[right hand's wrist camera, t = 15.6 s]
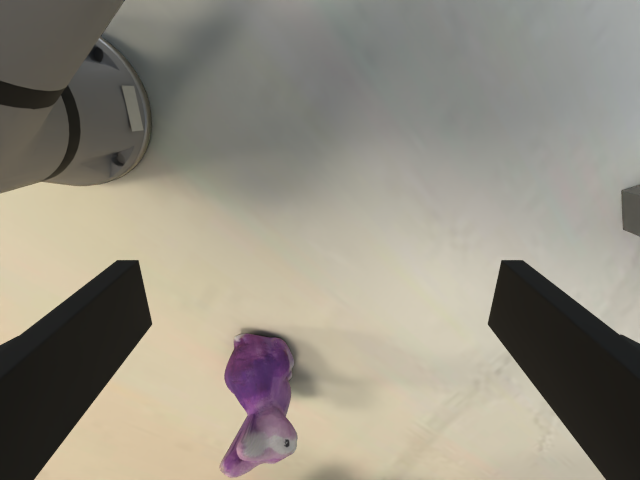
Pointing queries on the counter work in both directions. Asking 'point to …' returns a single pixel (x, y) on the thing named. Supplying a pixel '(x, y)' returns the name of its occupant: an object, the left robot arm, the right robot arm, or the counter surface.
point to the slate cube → (631, 209)
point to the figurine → (260, 403)
